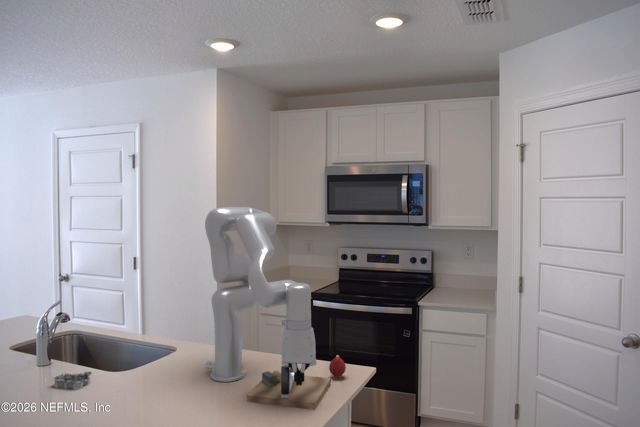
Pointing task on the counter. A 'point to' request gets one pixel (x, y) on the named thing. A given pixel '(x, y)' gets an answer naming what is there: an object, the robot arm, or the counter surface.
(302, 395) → the board
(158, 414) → the counter surface
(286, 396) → the lever
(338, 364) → the onion
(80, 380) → the egg carton
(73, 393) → the counter surface
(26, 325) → the counter surface
